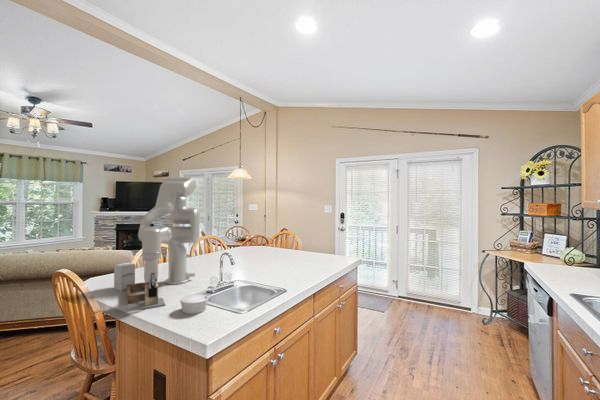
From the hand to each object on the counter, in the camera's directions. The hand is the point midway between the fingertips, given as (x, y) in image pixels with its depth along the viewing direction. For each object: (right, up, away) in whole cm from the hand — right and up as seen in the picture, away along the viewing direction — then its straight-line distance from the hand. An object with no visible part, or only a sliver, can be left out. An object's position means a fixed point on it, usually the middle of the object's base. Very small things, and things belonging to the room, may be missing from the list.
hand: (151, 293), depth 131 cm
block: (0, -4, 0) cm, 4 cm away
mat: (0, -5, 0) cm, 5 cm away
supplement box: (-27, -5, +24) cm, 36 cm away
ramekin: (+22, -5, -6) cm, 23 cm away
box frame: (-11, -5, +12) cm, 17 cm away
